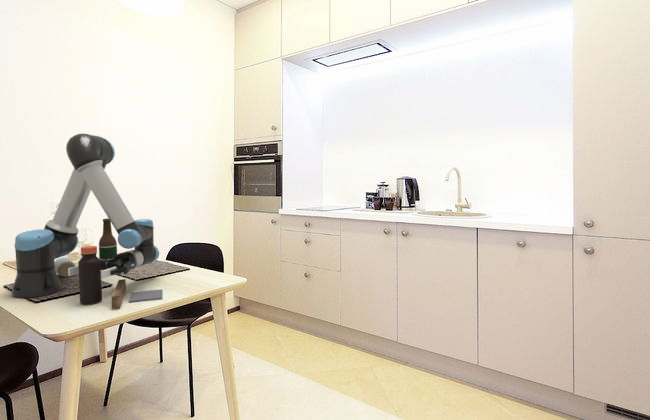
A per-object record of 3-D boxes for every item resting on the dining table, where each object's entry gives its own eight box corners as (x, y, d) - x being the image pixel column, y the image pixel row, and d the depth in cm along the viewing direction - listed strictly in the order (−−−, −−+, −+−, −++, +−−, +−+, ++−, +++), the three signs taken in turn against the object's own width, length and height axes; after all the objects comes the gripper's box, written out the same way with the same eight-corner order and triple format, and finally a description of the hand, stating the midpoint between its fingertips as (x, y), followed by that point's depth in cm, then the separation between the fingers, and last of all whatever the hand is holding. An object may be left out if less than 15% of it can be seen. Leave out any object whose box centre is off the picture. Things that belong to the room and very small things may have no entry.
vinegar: (81, 300, 138) (79, 245, 136) (103, 297, 141) (101, 244, 139) (78, 306, 132) (75, 249, 130) (100, 303, 135) (98, 248, 133)
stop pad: (128, 302, 136) (128, 301, 136) (131, 293, 146) (131, 292, 146) (162, 299, 140) (162, 297, 140) (162, 290, 150) (162, 289, 150)
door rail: (111, 309, 129) (111, 296, 129) (119, 290, 149) (118, 279, 149) (119, 308, 130) (119, 295, 130) (126, 290, 150) (125, 279, 150)
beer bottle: (101, 266, 188) (99, 218, 186) (119, 265, 190) (117, 217, 188) (97, 269, 181) (95, 219, 178) (115, 269, 183) (114, 219, 181)
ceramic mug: (58, 279, 164) (57, 261, 164) (52, 275, 170) (52, 258, 169) (85, 274, 172) (85, 258, 172) (79, 271, 178) (79, 255, 177)
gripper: (155, 271, 152) (116, 286, 131) (102, 267, 157) (56, 281, 136) (155, 253, 151) (115, 265, 130) (101, 249, 156) (55, 260, 135)
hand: (85, 273), depth 133 cm, fingers open, 13 cm apart
